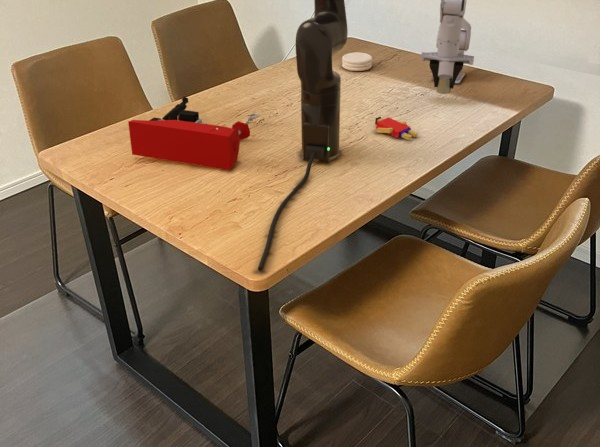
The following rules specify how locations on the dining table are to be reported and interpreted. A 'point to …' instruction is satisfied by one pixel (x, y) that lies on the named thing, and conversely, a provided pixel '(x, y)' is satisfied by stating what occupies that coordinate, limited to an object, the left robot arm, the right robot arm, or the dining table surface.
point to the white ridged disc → (357, 61)
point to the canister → (444, 84)
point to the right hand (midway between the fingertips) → (443, 86)
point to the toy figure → (394, 128)
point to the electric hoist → (188, 139)
